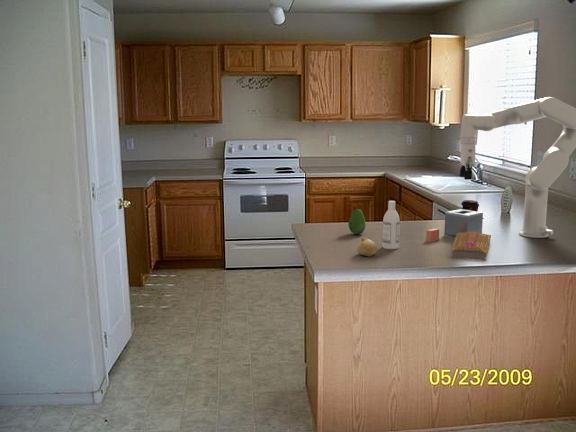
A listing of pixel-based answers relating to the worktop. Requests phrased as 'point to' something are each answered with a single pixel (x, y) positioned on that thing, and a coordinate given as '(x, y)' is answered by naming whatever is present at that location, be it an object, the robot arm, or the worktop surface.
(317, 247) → the worktop surface
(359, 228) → the avocado
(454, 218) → the box
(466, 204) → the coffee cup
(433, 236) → the token
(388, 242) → the bath foam
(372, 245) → the onion
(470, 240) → the brown and pink package
